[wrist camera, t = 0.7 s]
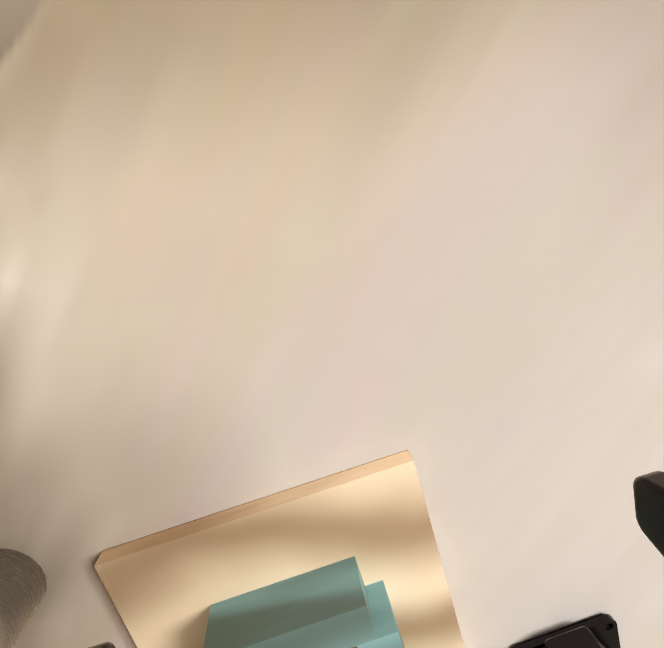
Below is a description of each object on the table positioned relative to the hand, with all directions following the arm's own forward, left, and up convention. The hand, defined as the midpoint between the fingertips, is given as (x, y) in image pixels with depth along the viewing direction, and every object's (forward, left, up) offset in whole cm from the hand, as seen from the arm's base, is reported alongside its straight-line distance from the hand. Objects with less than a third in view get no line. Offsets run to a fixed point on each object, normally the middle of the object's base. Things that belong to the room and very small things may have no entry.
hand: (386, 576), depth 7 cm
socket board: (-16, +5, -14) cm, 22 cm away
